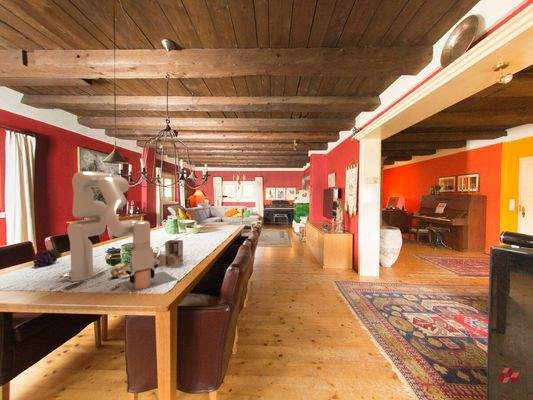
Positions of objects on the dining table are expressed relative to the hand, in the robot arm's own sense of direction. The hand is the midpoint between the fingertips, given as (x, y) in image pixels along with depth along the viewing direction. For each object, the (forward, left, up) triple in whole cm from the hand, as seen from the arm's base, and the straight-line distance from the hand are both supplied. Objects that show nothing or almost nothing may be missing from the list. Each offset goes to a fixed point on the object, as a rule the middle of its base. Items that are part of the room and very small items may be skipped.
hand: (142, 280), depth 113 cm
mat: (+5, +4, -4) cm, 7 cm away
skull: (-4, +23, -4) cm, 23 cm away
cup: (0, 0, -3) cm, 3 cm away
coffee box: (+26, +20, -4) cm, 33 cm away
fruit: (-29, +81, -4) cm, 86 cm away
